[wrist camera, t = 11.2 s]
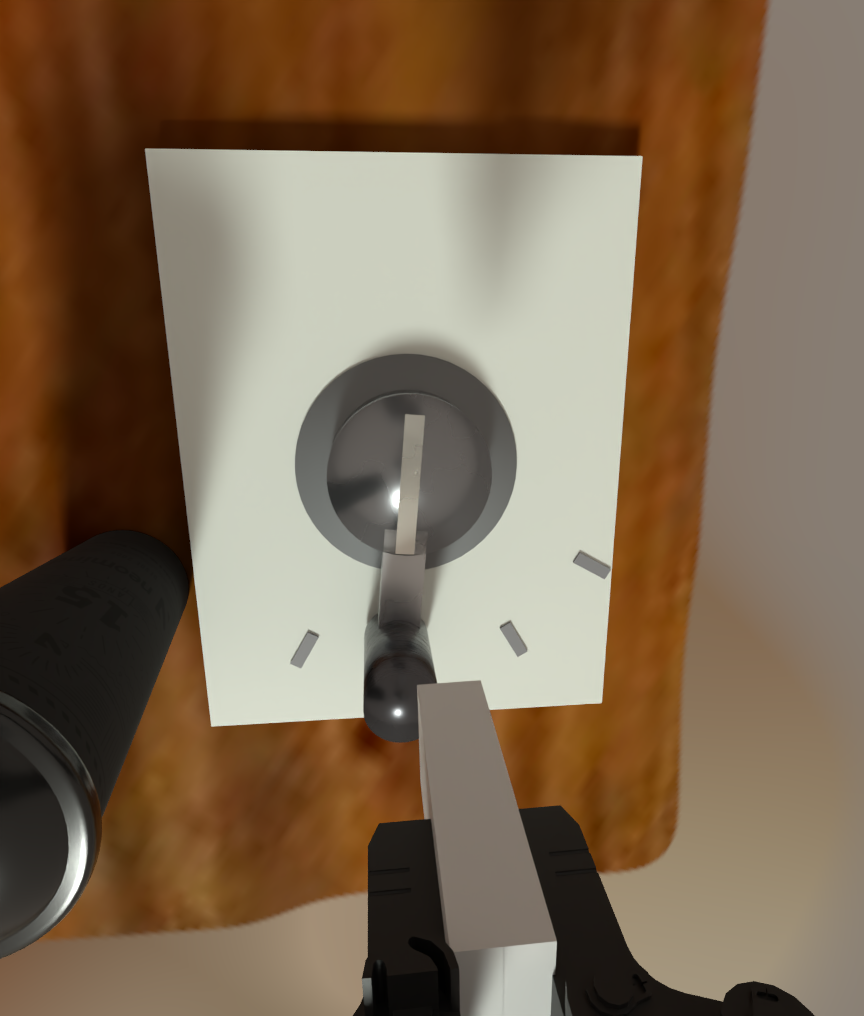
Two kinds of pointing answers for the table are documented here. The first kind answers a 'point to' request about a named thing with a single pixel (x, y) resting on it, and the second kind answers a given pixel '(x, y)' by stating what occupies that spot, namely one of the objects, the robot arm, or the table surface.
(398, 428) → the crank
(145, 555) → the drinking cup
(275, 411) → the board
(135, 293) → the table surface
